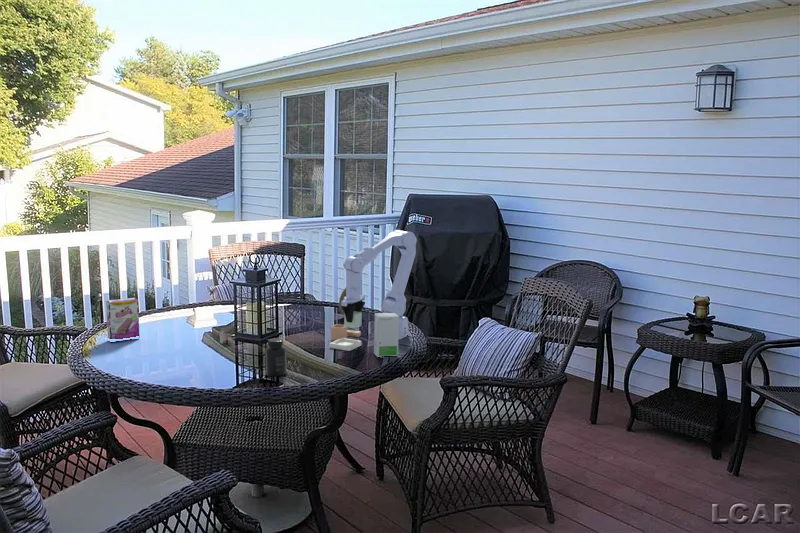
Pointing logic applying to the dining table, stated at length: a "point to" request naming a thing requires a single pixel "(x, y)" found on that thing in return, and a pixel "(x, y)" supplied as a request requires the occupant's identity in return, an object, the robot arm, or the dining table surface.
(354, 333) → the cedar offcut
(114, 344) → the dining table surface
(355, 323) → the pot green
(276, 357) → the supplement bottle
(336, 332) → the pot terracotta
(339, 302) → the decorative egg
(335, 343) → the tray
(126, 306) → the candy bar box
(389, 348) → the skincare box
